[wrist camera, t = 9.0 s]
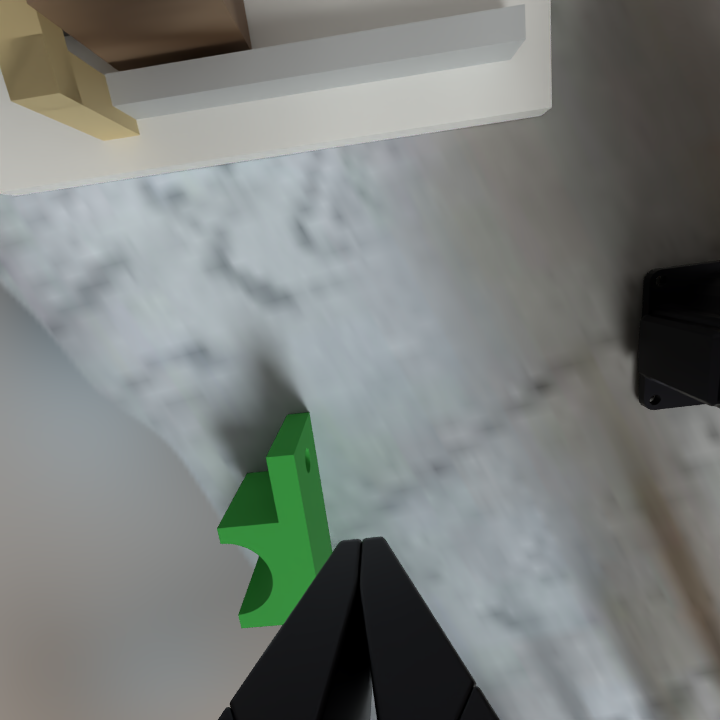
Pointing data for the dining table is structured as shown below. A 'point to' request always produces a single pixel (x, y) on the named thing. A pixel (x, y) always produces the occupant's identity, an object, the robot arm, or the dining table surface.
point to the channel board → (266, 87)
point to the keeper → (151, 28)
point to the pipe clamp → (280, 525)
